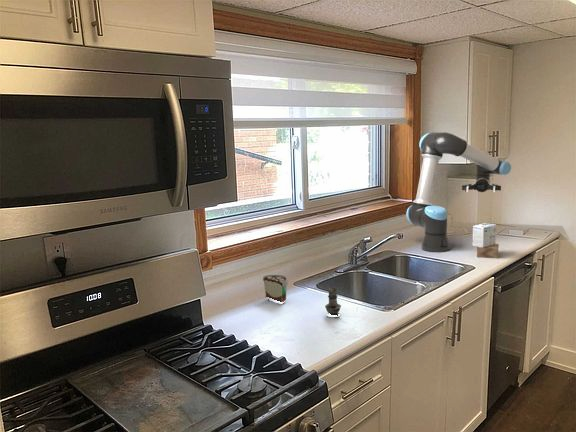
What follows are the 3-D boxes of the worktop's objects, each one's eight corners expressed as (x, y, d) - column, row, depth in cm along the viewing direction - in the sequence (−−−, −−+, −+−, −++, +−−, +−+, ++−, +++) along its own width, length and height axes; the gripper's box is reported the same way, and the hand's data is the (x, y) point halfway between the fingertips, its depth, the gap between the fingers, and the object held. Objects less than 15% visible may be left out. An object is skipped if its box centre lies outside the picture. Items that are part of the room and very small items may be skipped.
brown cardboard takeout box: (476, 257, 241) (477, 247, 240) (477, 252, 250) (478, 242, 249) (498, 258, 237) (498, 248, 236) (498, 253, 246) (498, 243, 245)
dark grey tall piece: (335, 311, 178) (334, 280, 176) (344, 316, 173) (343, 284, 170) (322, 314, 175) (321, 283, 173) (331, 319, 170) (330, 288, 168)
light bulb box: (484, 242, 249) (485, 222, 247) (496, 244, 244) (496, 224, 242) (471, 245, 244) (472, 225, 242) (483, 247, 238) (483, 227, 236)
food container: (295, 301, 189) (294, 278, 188) (284, 306, 185) (283, 281, 183) (274, 295, 198) (273, 272, 196) (263, 299, 194) (262, 276, 192)
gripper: (505, 191, 270) (505, 196, 251) (459, 191, 280) (456, 196, 261) (505, 178, 269) (505, 183, 250) (459, 178, 279) (456, 182, 260)
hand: (480, 189), depth 256 cm, fingers open, 13 cm apart
